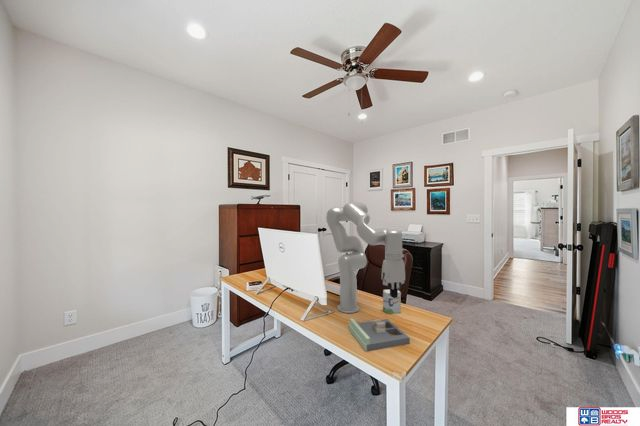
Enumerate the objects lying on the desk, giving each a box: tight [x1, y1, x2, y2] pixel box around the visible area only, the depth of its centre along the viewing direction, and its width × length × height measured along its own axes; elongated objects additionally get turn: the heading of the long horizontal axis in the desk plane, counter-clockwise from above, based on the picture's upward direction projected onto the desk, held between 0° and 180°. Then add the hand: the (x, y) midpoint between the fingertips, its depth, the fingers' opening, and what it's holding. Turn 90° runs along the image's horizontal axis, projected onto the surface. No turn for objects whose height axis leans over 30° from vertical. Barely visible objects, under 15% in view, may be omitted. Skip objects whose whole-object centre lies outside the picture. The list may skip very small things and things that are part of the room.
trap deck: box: [348, 318, 411, 352], centre depth 107 cm, size 18×21×5 cm
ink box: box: [382, 288, 402, 315], centre depth 132 cm, size 9×5×12 cm, turn 101°
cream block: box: [372, 318, 386, 333], centre depth 107 cm, size 4×4×4 cm
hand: (393, 296), depth 108 cm, fingers closed
